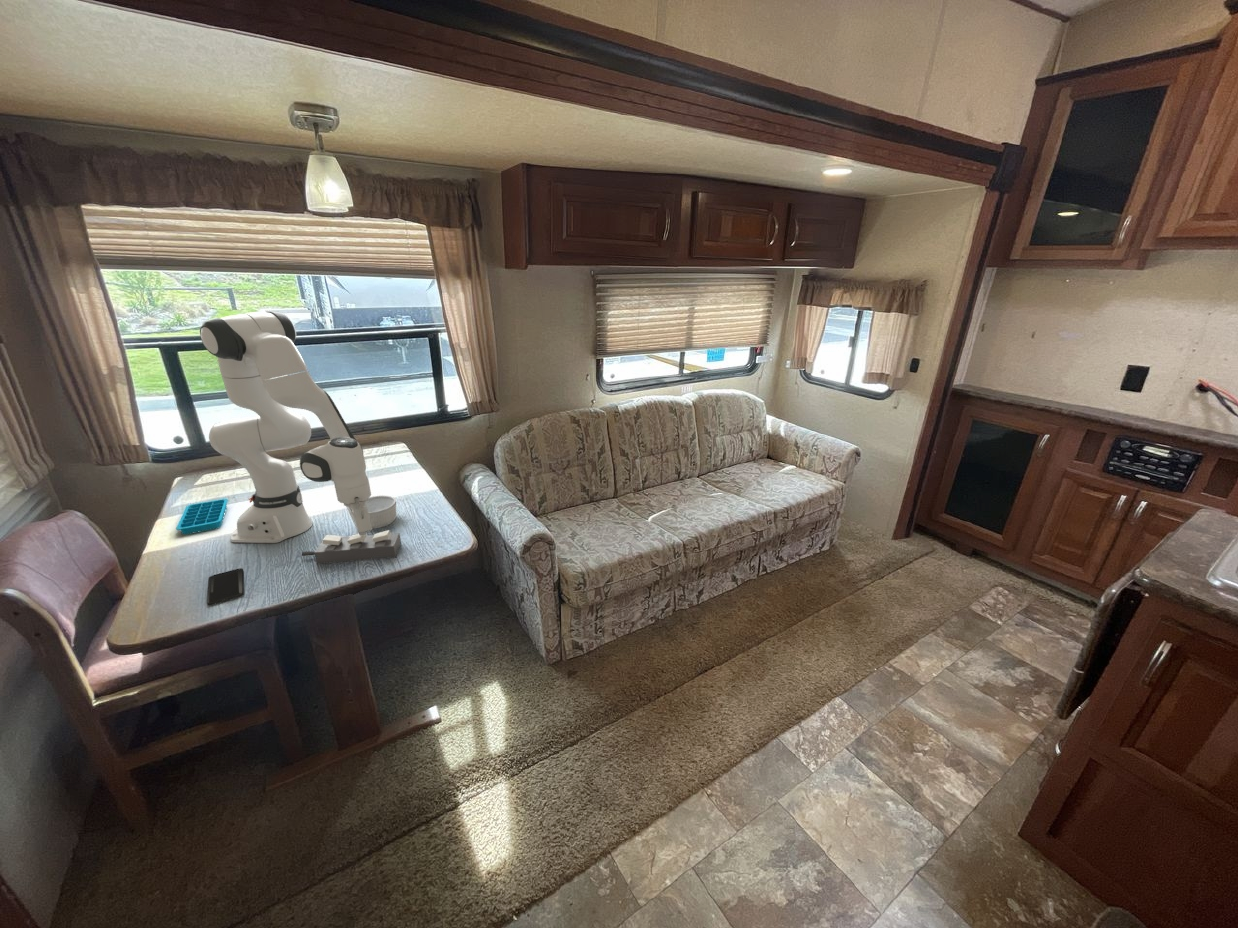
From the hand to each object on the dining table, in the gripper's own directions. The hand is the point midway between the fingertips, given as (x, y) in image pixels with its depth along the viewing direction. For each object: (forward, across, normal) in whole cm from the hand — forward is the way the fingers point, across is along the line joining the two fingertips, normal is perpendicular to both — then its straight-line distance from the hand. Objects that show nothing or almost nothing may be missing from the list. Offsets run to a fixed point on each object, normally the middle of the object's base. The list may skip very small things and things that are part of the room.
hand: (362, 533), depth 147 cm
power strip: (+7, +2, +4) cm, 8 cm away
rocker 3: (+2, -2, -5) cm, 6 cm away
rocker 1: (+2, +4, +8) cm, 9 cm away
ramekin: (+7, +20, -8) cm, 23 cm away
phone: (+8, +3, +34) cm, 36 cm away
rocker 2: (+2, +1, +1) cm, 3 cm away
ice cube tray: (+7, +54, +41) cm, 68 cm away
